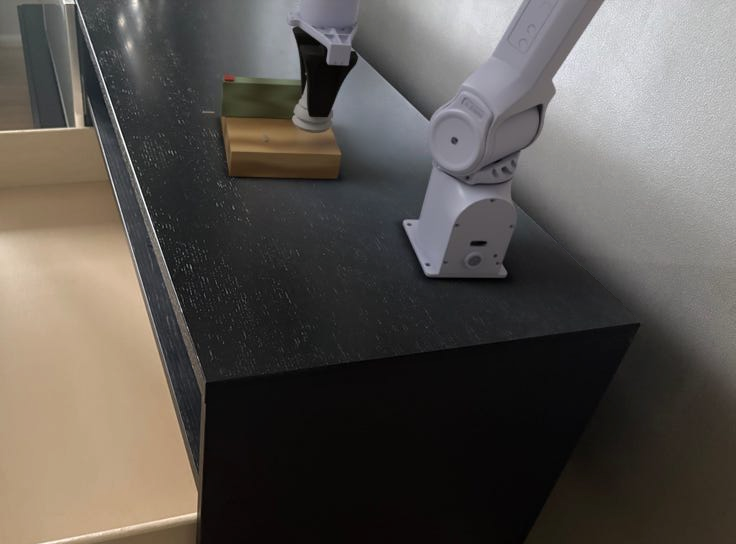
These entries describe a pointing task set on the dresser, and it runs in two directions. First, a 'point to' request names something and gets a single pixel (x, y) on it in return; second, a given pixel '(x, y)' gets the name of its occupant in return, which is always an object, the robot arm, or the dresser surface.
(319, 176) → the base
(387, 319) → the dresser surface
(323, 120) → the rook chess piece
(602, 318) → the dresser surface
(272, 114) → the green flat block
